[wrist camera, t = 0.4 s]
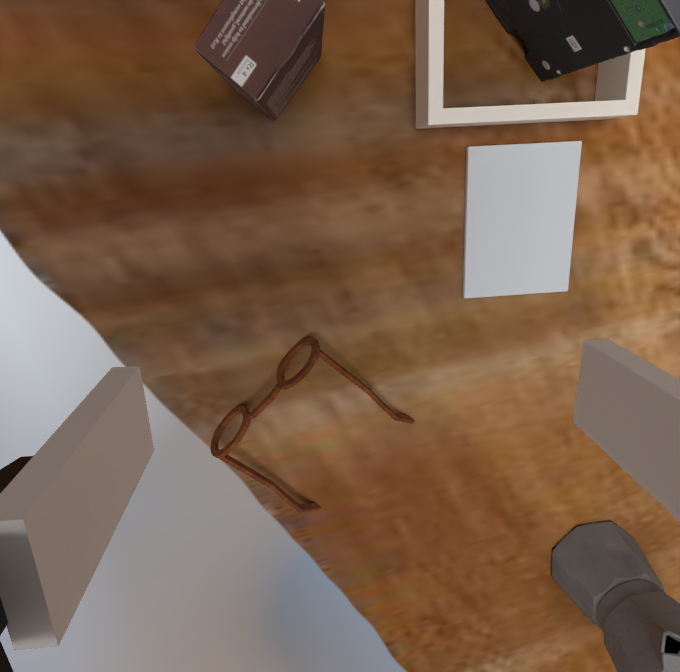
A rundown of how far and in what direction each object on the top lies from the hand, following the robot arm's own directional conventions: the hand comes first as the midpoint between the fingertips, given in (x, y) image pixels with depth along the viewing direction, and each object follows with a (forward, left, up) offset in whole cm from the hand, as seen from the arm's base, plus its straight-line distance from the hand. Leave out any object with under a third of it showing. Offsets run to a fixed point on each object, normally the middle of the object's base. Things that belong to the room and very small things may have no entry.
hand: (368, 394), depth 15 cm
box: (-13, -3, -28) cm, 31 cm away
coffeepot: (+35, +27, -28) cm, 52 cm away
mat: (-1, +16, -28) cm, 32 cm away
